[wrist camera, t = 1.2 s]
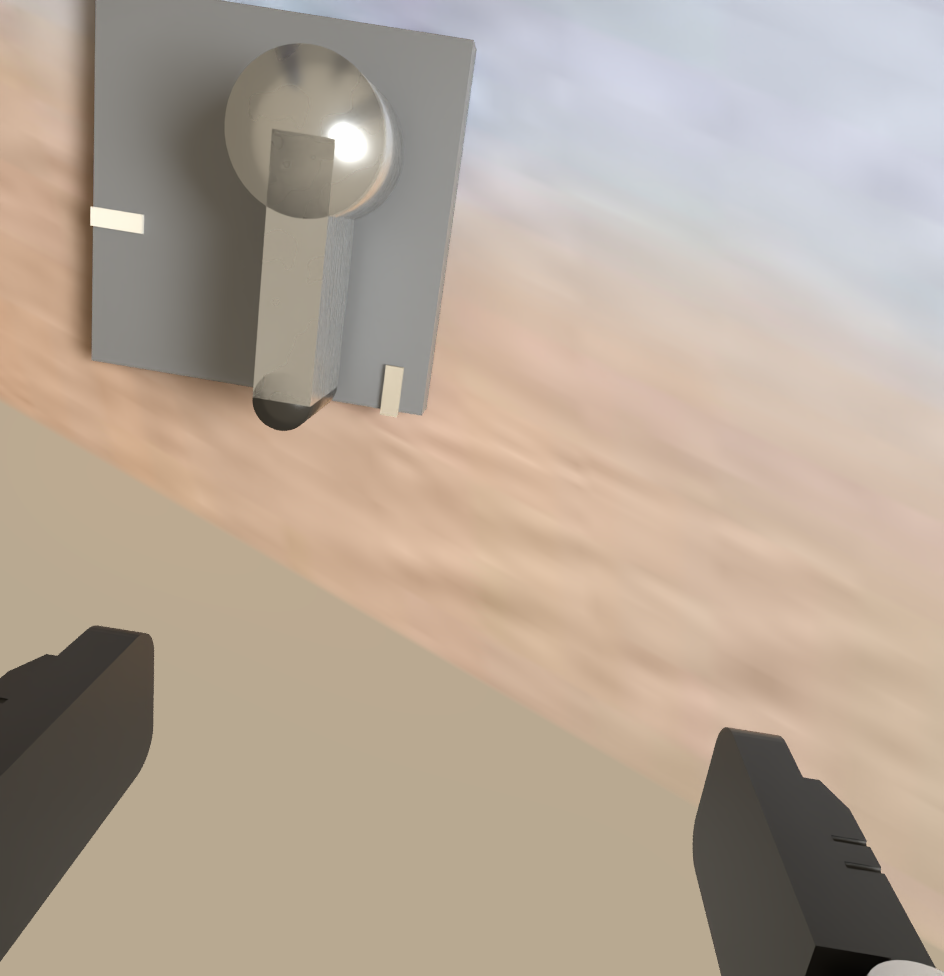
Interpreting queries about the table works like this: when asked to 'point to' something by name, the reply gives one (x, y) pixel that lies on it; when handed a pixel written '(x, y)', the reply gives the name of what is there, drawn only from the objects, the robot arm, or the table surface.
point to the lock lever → (307, 210)
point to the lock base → (241, 217)
